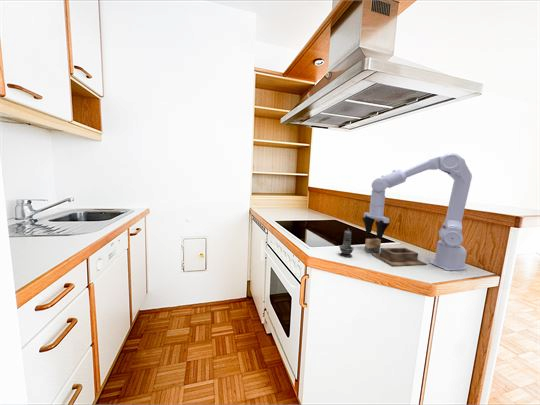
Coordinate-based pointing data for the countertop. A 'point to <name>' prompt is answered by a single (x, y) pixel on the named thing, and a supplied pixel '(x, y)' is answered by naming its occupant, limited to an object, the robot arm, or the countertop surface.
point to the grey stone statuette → (346, 245)
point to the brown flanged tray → (399, 257)
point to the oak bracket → (372, 245)
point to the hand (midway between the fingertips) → (373, 235)
